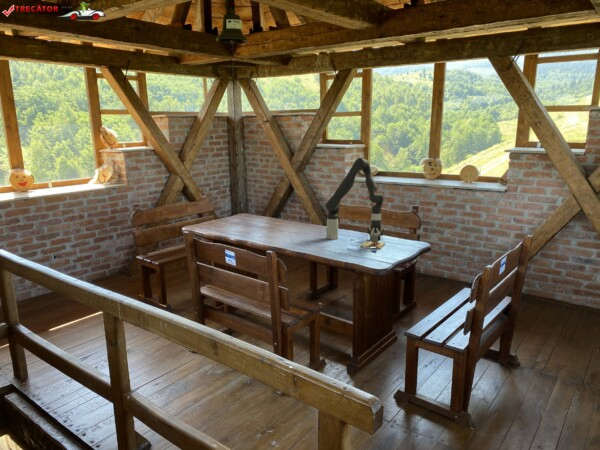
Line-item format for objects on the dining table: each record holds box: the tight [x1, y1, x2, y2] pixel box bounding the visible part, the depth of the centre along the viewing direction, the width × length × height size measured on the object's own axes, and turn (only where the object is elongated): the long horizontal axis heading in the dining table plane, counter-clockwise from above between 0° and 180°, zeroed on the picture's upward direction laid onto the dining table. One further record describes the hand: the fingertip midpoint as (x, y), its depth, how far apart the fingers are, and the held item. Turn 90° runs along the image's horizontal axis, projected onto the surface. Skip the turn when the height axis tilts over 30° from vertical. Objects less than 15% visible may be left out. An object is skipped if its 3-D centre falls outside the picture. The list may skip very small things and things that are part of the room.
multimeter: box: [366, 216, 384, 242], centre depth 366 cm, size 15×10×20 cm
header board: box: [360, 240, 386, 250], centre depth 350 cm, size 16×15×5 cm
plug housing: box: [370, 233, 379, 243], centre depth 348 cm, size 5×11×5 cm, turn 157°
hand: (375, 240), depth 348 cm, fingers closed on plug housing, 4 cm apart
